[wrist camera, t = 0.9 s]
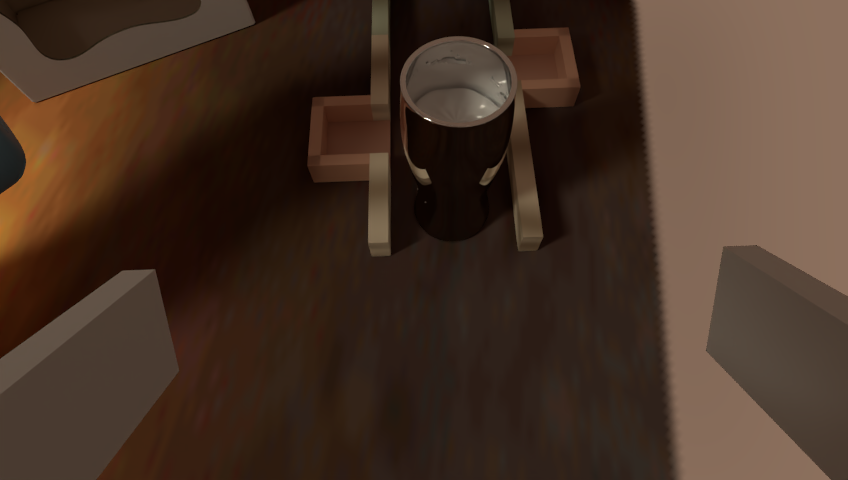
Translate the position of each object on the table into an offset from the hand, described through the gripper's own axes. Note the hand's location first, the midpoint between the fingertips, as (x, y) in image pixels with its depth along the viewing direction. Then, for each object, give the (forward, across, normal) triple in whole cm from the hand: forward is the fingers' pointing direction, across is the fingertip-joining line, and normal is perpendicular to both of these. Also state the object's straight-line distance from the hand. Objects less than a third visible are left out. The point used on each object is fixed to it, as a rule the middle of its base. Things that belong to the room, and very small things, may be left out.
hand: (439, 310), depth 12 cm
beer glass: (+30, +2, -6) cm, 31 cm away
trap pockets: (+37, +2, +1) cm, 37 cm away
